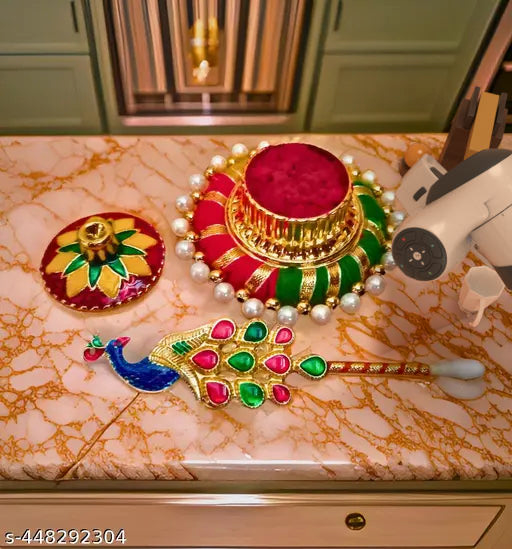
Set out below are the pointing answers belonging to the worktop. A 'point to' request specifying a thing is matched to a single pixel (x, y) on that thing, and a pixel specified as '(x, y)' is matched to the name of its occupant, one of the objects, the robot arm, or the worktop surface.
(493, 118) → the pull rod
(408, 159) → the night lamp
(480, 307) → the cup
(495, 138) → the switch pillar
